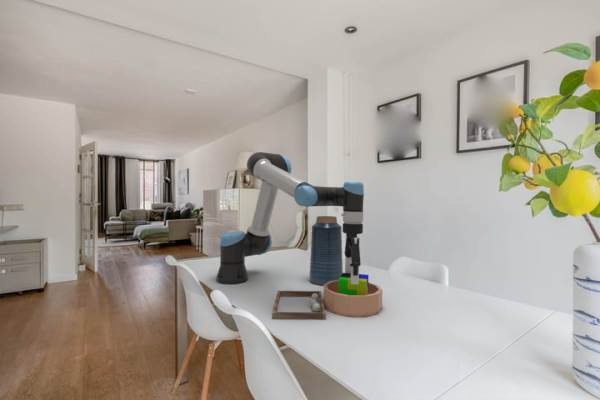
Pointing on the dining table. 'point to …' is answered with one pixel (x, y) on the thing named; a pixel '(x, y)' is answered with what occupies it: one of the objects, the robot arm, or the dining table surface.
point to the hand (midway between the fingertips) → (351, 278)
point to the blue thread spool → (326, 250)
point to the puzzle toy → (353, 285)
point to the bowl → (352, 301)
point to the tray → (298, 314)
